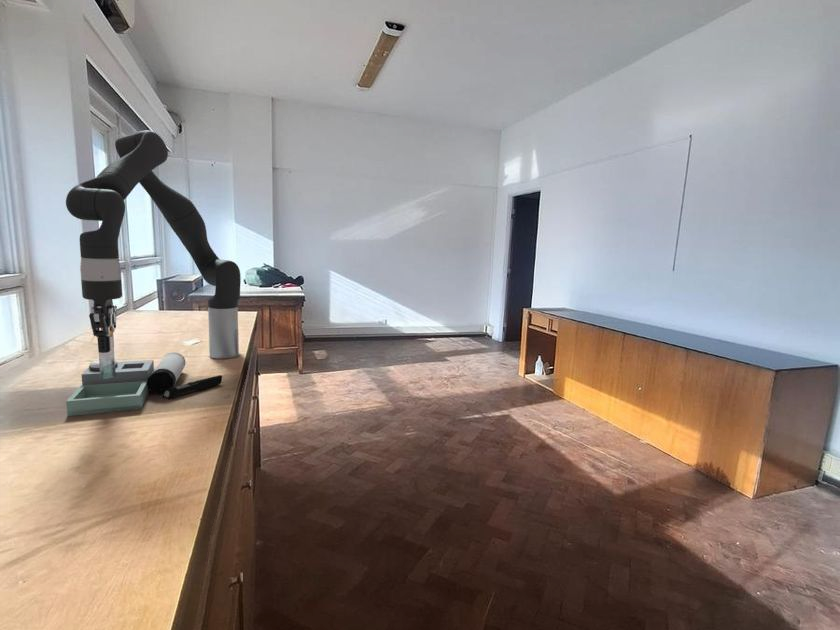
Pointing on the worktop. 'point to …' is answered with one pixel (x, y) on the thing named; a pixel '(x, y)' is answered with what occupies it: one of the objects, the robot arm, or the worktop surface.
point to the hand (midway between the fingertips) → (106, 349)
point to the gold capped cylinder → (107, 361)
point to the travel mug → (166, 373)
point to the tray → (107, 398)
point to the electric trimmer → (191, 387)
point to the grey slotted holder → (119, 372)
